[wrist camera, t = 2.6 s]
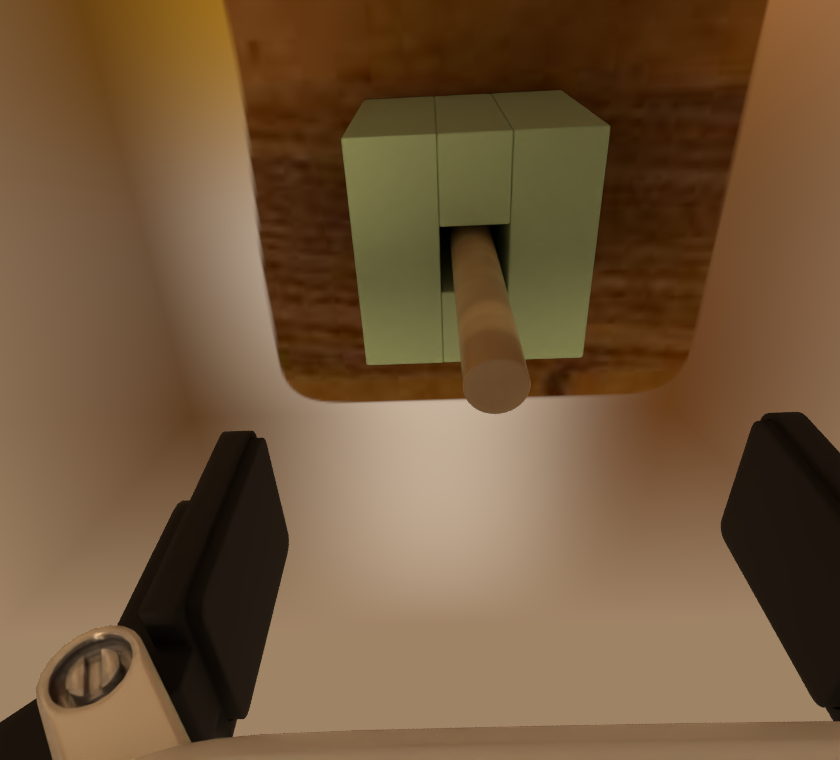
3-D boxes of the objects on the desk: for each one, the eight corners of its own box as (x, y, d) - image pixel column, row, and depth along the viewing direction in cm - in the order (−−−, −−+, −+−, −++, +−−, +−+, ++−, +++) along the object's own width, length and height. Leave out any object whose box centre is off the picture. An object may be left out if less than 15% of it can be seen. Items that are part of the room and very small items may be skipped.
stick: (480, 175, 27) (532, 357, 13) (480, 210, 28) (529, 413, 14) (445, 177, 27) (463, 359, 14) (446, 212, 28) (463, 415, 14)
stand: (562, 89, 25) (611, 125, 18) (547, 275, 29) (582, 358, 23) (363, 99, 25) (340, 137, 18) (380, 281, 30) (366, 365, 23)
